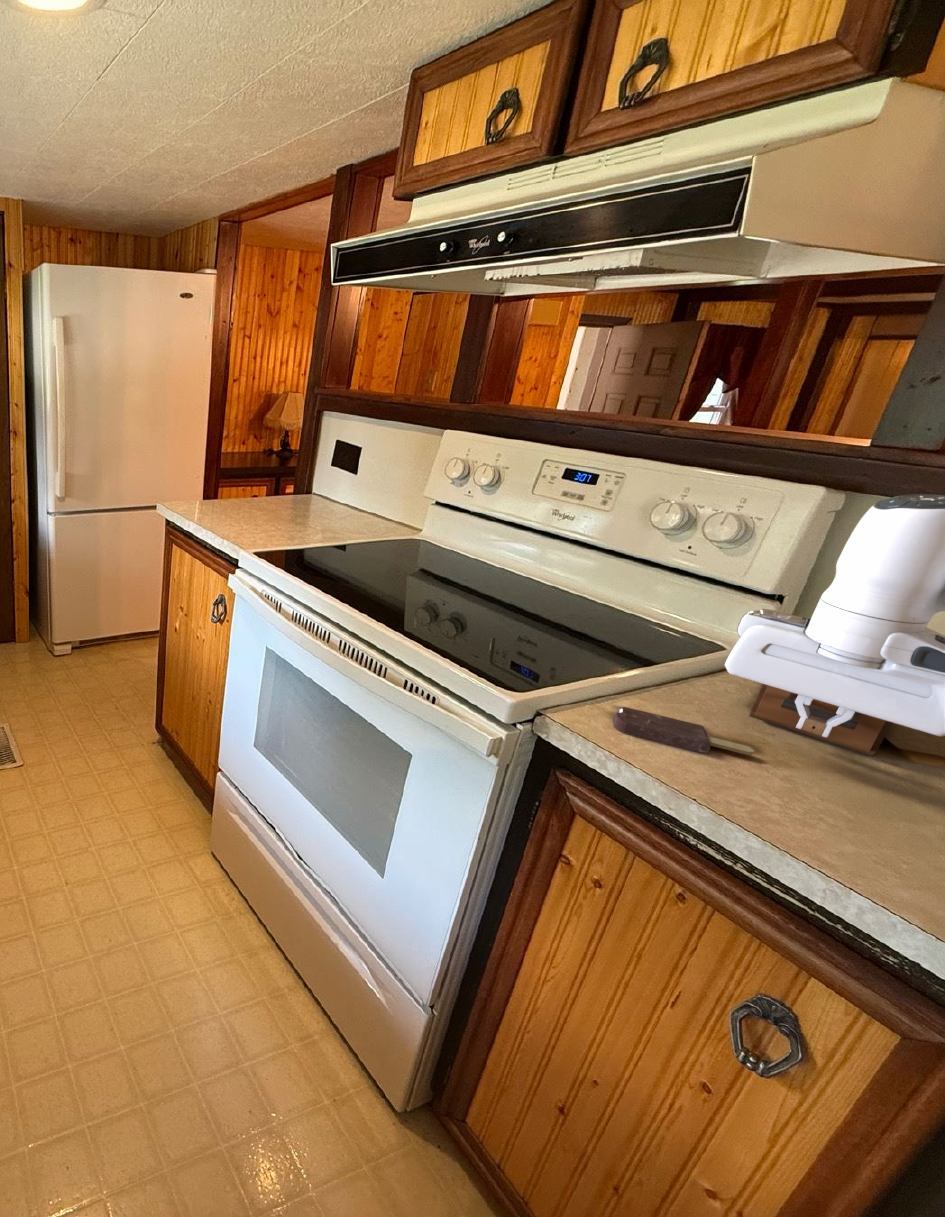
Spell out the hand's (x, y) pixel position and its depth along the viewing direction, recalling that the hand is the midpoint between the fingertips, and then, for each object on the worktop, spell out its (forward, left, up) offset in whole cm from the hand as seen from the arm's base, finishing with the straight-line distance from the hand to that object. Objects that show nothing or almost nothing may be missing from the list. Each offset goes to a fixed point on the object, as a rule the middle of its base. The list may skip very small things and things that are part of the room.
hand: (811, 731), depth 82 cm
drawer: (-7, -12, -4) cm, 14 cm away
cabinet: (-9, -16, -4) cm, 18 cm away
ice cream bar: (+13, 0, -5) cm, 14 cm away
